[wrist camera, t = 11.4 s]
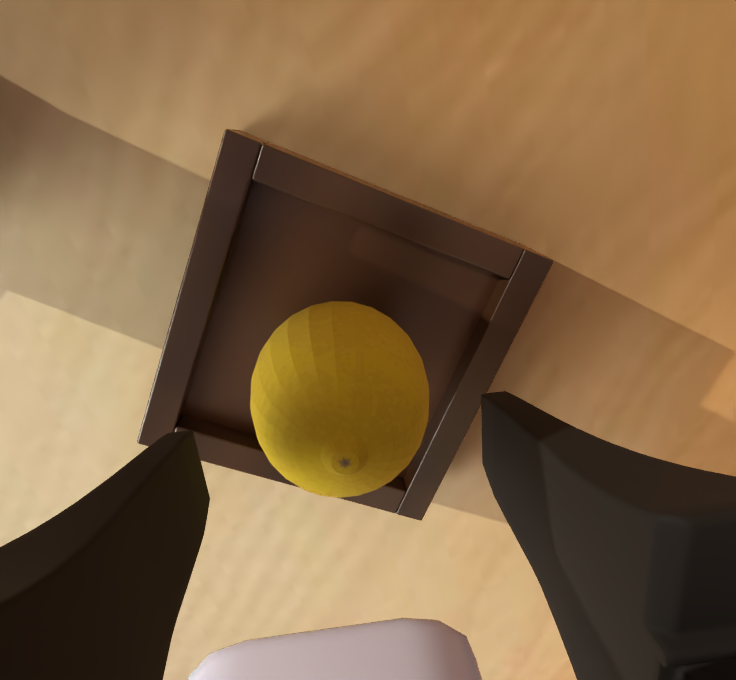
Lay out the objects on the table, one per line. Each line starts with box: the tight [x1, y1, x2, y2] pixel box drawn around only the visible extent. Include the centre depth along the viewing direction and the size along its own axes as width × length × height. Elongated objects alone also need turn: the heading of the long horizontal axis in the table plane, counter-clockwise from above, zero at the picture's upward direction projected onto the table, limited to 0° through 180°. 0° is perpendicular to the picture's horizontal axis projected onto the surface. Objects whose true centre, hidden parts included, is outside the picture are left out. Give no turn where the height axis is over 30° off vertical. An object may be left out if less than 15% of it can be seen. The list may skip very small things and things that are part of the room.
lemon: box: [250, 301, 429, 498], centre depth 17 cm, size 6×6×8 cm
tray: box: [137, 129, 553, 520], centre depth 21 cm, size 12×12×3 cm
